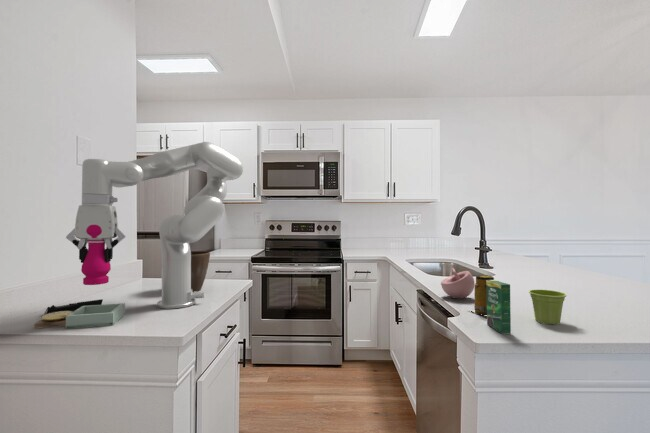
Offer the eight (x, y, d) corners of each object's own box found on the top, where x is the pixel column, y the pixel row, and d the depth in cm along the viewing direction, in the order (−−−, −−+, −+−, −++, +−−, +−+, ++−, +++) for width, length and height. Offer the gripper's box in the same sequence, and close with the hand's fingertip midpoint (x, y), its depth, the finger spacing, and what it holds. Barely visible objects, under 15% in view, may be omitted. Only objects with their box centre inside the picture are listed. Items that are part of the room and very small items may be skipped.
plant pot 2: (523, 320, 100) (523, 291, 100) (536, 315, 106) (536, 287, 106) (559, 329, 93) (559, 297, 93) (571, 322, 98) (571, 293, 98)
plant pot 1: (209, 293, 137) (209, 254, 137) (169, 295, 133) (169, 255, 133) (211, 286, 151) (211, 250, 151) (175, 288, 147) (175, 251, 147)
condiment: (484, 309, 113) (484, 273, 113) (506, 316, 105) (506, 278, 105) (467, 311, 110) (467, 275, 111) (488, 318, 103) (488, 279, 103)
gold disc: (77, 316, 103) (77, 310, 103) (66, 323, 96) (66, 316, 96) (49, 318, 101) (49, 312, 101) (36, 325, 94) (36, 318, 94)
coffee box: (485, 324, 97) (485, 279, 97) (495, 324, 97) (495, 279, 97) (500, 334, 89) (500, 284, 89) (511, 333, 89) (511, 284, 89)
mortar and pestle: (438, 294, 136) (438, 265, 136) (469, 295, 134) (469, 266, 134) (444, 301, 124) (444, 270, 124) (478, 302, 122) (478, 271, 122)
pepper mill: (74, 285, 97) (75, 215, 97) (95, 280, 104) (96, 216, 104) (96, 285, 96) (97, 215, 96) (116, 281, 103) (117, 216, 103)
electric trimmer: (103, 309, 115) (103, 299, 115) (45, 317, 104) (45, 307, 104) (101, 307, 118) (101, 297, 118) (43, 315, 107) (44, 305, 107)
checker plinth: (79, 317, 103) (79, 313, 103) (67, 325, 96) (67, 321, 96) (48, 319, 101) (48, 315, 101) (34, 328, 93) (34, 323, 93)
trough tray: (124, 314, 107) (124, 303, 107) (113, 325, 96) (113, 312, 96) (82, 317, 104) (82, 305, 104) (65, 329, 93) (65, 316, 93)
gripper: (132, 202, 106) (131, 259, 106) (68, 201, 101) (67, 261, 101) (126, 201, 99) (124, 262, 99) (57, 199, 94) (55, 264, 94)
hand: (96, 261), depth 100 cm, fingers closed on pepper mill, 5 cm apart
